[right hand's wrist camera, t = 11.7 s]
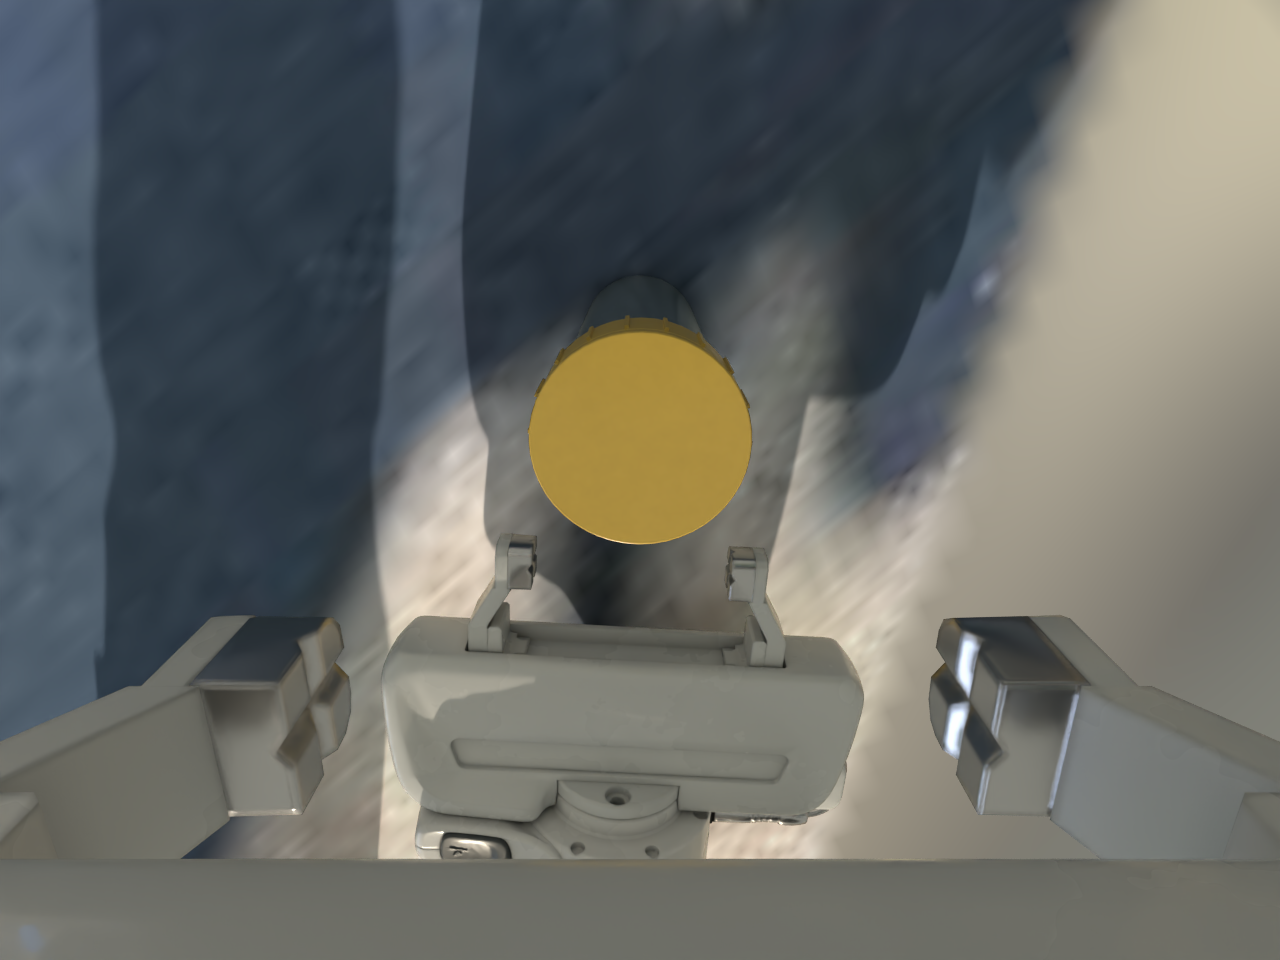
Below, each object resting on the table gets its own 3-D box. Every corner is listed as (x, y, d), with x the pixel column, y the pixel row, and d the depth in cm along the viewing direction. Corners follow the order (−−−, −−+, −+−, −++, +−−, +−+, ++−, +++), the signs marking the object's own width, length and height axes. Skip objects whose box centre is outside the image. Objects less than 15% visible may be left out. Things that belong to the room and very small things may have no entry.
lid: (783, 437, 21) (799, 463, 19) (619, 550, 23) (617, 585, 21) (663, 269, 20) (666, 278, 18) (494, 399, 21) (478, 421, 19)
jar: (718, 344, 34) (775, 456, 20) (629, 408, 35) (621, 560, 21) (651, 251, 33) (661, 299, 18) (561, 321, 34) (502, 418, 19)
